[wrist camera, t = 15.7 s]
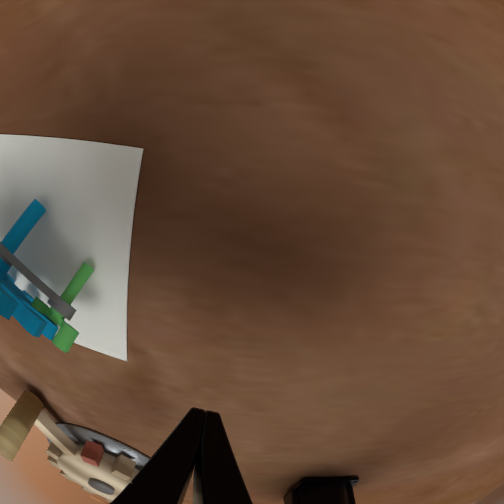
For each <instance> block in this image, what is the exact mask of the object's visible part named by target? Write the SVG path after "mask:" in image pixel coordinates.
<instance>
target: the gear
mask: <svg viewBox="0 0 504 504" xmlns="http://www.w3.org/2000/svg"><path fill="white" fill-rule="evenodd" d="M45 212H46V209H45V208H44V207H43V206H42V204H41V203H40V202H39V201H37V200H36V199H34V200H33V201H32V203H31V204H30V205H29V206H28V207H27V209H26V210H25V211H24V212H23V214H22V215H21V216H20V217H19V219H18V220H17V221H16V223H15V224H14V225H13V226H12V228H11V229H10V230H9V232H8V233H7V235H6V236H5V237H4V239H3V240H2V241H1V242H0V315H2V316H3V317H5V318H7V319H10V317H11V316H12V315H13V316H14V317H15V319H16V320H17V321H18V322H19V323H20V324H21V325H22V326H23V327H24V328H25V329H26V330H27V331H28V332H29V333H30V334H32V335H33V336H35V337H40V335H41V333H42V334H43V335H44V336H45V337H47V338H48V339H50V340H52V339H53V340H52V342H53V344H54V345H56V346H57V347H58V348H59V349H61V350H62V351H64V352H66V353H68V351H69V349H70V348H71V346H72V344H73V343H74V341H75V339H76V338H77V336H78V335H79V332H78V331H77V330H76V329H74V328H73V327H72V326H71V325H69V324H68V323H66V322H65V321H64V319H65V318H66V319H68V320H69V321H70V320H71V318H72V317H73V315H74V314H75V312H76V311H77V310H76V309H75V308H73V307H72V306H71V303H72V302H73V300H74V299H75V297H76V296H77V294H78V293H79V291H80V290H81V289H82V287H83V286H84V284H85V283H86V281H87V280H88V278H89V277H90V276H91V274H92V273H93V271H94V270H93V269H92V268H91V267H90V266H89V265H88V264H86V263H85V262H84V263H83V264H82V266H81V267H80V269H79V270H78V271H77V273H76V274H75V276H74V277H73V278H72V280H71V281H70V283H69V284H68V286H67V287H66V289H65V290H64V292H63V293H62V295H61V296H59V295H58V294H56V293H55V292H54V291H53V290H52V289H50V288H49V287H48V286H47V285H46V284H45V283H44V282H42V281H41V280H40V279H39V278H38V277H37V276H36V275H35V274H33V273H32V272H31V271H30V270H29V269H28V268H27V267H26V266H25V265H24V264H23V263H22V262H21V261H20V260H18V259H17V258H16V257H15V256H14V255H13V254H14V253H15V251H16V250H17V249H18V247H19V246H20V244H21V243H22V242H23V240H24V239H25V238H26V236H27V235H28V234H29V232H30V231H31V230H32V228H33V227H34V226H35V224H36V223H37V222H38V221H39V219H40V218H41V217H42V216H43V214H44V213H45ZM12 265H13V266H14V267H15V268H16V269H17V270H18V271H19V272H20V273H21V274H22V275H24V276H25V277H26V278H27V279H28V280H29V281H30V282H31V283H32V284H33V285H35V286H36V287H37V288H38V289H39V290H40V291H41V292H43V293H44V294H45V295H46V296H47V297H48V298H49V300H48V301H47V303H48V304H49V305H50V306H51V307H50V308H49V307H48V306H47V305H46V304H45V303H44V302H43V301H42V300H40V299H39V298H38V297H35V299H34V298H33V297H32V296H31V295H29V294H28V293H27V292H26V291H25V290H23V291H22V290H20V289H19V288H18V287H17V286H16V285H15V284H14V282H15V280H14V279H13V278H12V277H11V276H10V275H9V274H8V273H7V272H8V271H9V269H10V268H11V266H12ZM58 326H59V327H60V328H59V327H58ZM58 329H59V330H58ZM57 331H58V332H57ZM56 332H57V333H56ZM55 334H56V335H55ZM54 336H55V337H54ZM53 337H54V338H53Z"/></svg>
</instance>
